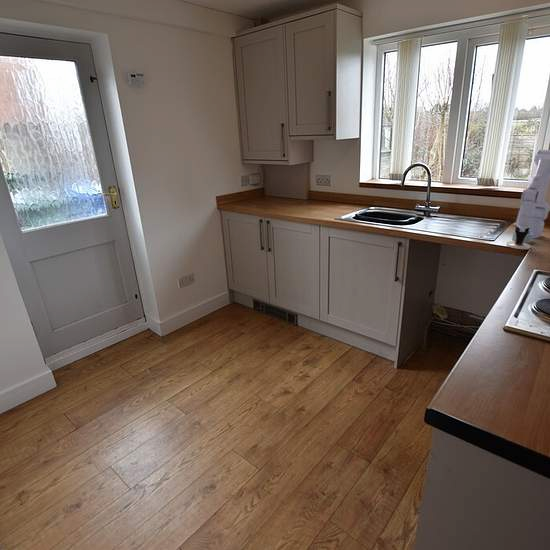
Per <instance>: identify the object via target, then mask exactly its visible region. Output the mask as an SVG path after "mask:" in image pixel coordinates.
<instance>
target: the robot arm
mask: <svg viewBox="0 0 550 550" xmlns="http://www.w3.org/2000/svg"><path fill="white" fill-rule="evenodd" d="M534 163H535V165H536V166H537V167H536V170H535V174H534V175H532V176H531V177H530V178H529V181H528V183H527V186H526V188H525V189H523V191H522V193H521V197H520V199H521V200H520V208H519V215H518V214H517V216H518V220H517V223H516V222H514V223H513V226H515V225H516V226H517V227H516V226H515V229H514V231H515V232H516V244H519V245H521V244H522V242H523V240H524V238H525V237H526V235H527V234H528V233H529V232H531V233H533V236H532V240H533V239H534V240H535V239H538V238H541V236H542V237H544V234H543V231H544V226H545V220H547V218H548V215H549V211H550V210H549V209H550V204H549V203H548V202H547V201H546V200H545V199H546V196H547V195H546V194H547V192H548V187H549V183H550V149H541V148H539V149H538V150H536V153H535V156H534Z"/></svg>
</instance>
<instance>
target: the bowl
mask: <svg viewBox="0 0 550 550" xmlns="http://www.w3.org/2000/svg"><path fill="white" fill-rule="evenodd" d="M532 236H533V233H531V232H529V233H528V234H527V235H526V237H525V238H524V243H526V244H530V243H531V242H532V240H533V238H532ZM515 239H516V232H515V230H514V231H513V234H512V238H511V240H512V242H515Z"/></svg>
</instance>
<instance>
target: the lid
mask: <svg viewBox="0 0 550 550" xmlns="http://www.w3.org/2000/svg"><path fill="white" fill-rule="evenodd" d="M505 246H506V247H508V248H512V249H516V250H530V249H531V247H532V246H531V244H530V243H524V240H523V242H522V244H521V245H519V244H516V239H515V241H507V242H506V244H505Z"/></svg>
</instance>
